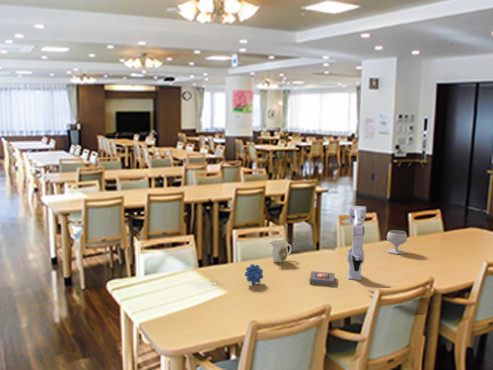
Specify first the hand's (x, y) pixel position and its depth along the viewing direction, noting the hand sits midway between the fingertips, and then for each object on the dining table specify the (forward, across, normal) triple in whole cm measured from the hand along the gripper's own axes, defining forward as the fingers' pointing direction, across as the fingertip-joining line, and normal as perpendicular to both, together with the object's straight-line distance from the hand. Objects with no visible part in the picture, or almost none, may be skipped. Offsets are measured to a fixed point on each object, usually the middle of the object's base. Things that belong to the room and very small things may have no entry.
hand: (356, 268), depth 273 cm
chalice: (+10, -78, +31) cm, 85 cm away
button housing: (+10, -4, -19) cm, 22 cm away
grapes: (+11, +12, -57) cm, 59 cm away
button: (+9, -4, -19) cm, 22 cm away
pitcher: (+10, -35, -48) cm, 60 cm away
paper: (+11, +23, -80) cm, 84 cm away
